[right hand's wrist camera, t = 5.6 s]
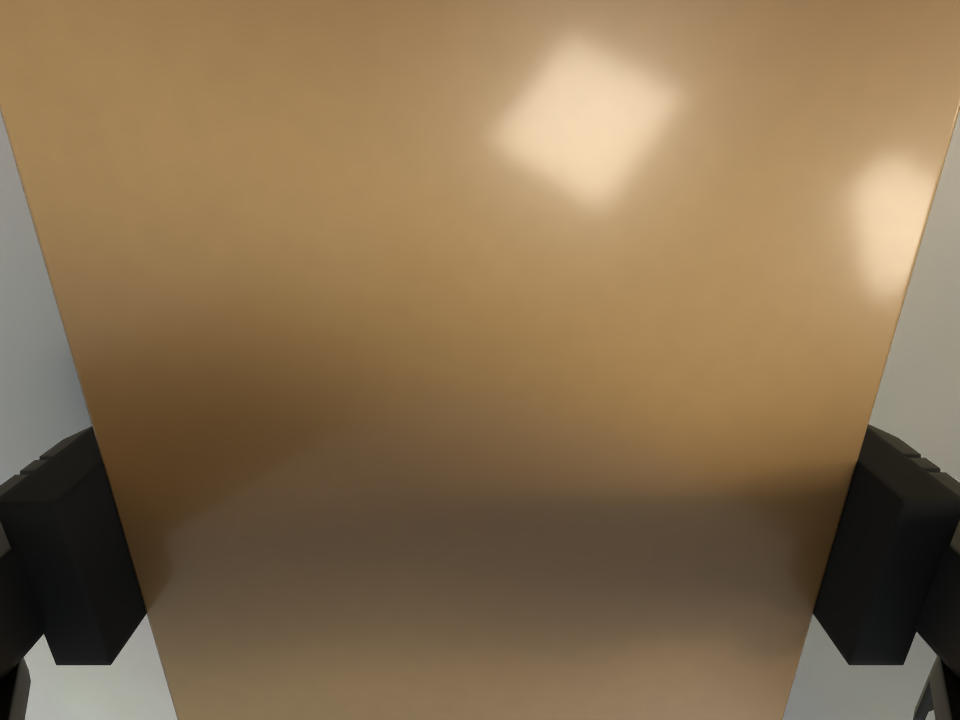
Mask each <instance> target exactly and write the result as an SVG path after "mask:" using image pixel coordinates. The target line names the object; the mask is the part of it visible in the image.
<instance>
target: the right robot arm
mask: <svg viewBox="0 0 960 720" xmlns="http://www.w3.org/2000/svg"><path fill="white" fill-rule="evenodd" d="M146 614H147V612H146V609H145V605H144V602H143V598H142V595H141V591H140V588H139V585H138V581H137V578H136V574H135V571H134V567H133V564H132V561H131V557H130V554H129V550H128V547H127V543H126V540H125V536H124V533H123V530H122V526H121V523H120V519H119V516H118V512H117V509H116V506H115V502H114V499H113V495H112V492H111V488H110V485H109V482H108V478H107V475H106V471H105V468H104V464H103V461H102V457H101V454H100V451H99V447H98V444H97V440H96V437H95V433H94V430H93V427H92V426H91V427H89V428H87V429H85V430H83V431H81V432H79V433H76V434H74V435H72V436H70V437H68V438H66V439H63V440H62V441H60V442H59V443H58V444H56V445H55V446H54V447H52V448H51V449H50V450H48V451H47V452H45V453H44V454H43V455H41V456H40V459H39V460H35V461H33V462H32V463H31V464H29V465H28V466H26V467H25V468H24V469H22V470H21V471H20V475H14V476H13V477H11V478H10V479H9V480H7V481H6V482H5V483H3V484H2V485H1V486H0V720H25V714H26V708H27V702H28V696H29V689H30V683H31V680H30V674H29V669H28V667H27V665H26V662H25V660H24V656H25V655H26V654H27V652H28V651H29V650H30V649H31V648H32V647H33V646H34V644H35V643H36V642H37V641H38V640H39V639H40V638H41V636H42V635H43V634H44V635H45V637H46V640H47V642H48V645H49V648H50V650H51V653H52V655H53V658H54V660H55V663H56V665H111V664H112V663H113V661H114V660H115V658H116V657H117V655H118V654H119V653H120V651H121V650H122V648H123V647H124V645H125V644H126V642H127V641H128V640H129V638H130V637H131V635H132V634H133V632H134V631H135V629H136V628H137V627H138V625H139V624H140V622H141V621H142V619H143V618H144V616H145V615H146ZM813 614H814V615H815V617H816V618H817V620H818V621H819V623H820V624H821V626H822V627H823V628H824V630H825V631H826V633H827V634H828V636H829V637H830V638H831V640H832V641H833V643H834V644H835V646H836V647H837V649H838V650H839V651H840V653H841V654H842V656H843V657H844V659H845V660H846V662H847V663H848V664H849V665H903V664H904V662H905V659H906V657H907V654H908V652H909V649H910V646H911V644H912V641H913V639H914V636H915V634H916V631H917V632H918V633H919V635H920V636H921V637H922V638H923V639H924V640H925V641H926V643H927V644H928V645H929V646H930V647H931V648H932V649H933V651H934V652H935V653H936V654H937V657H936V660H935V662H934V665H933V667H932V669H931V672H930V674H929V677H928V679H927V681H926V684H925V686H924V689H923V691H922V693H921V696H920V698H919V701H918V703H917V705H916V708H915V712H914V718H913V720H925V719H926V716H927V714H928V712H929V711H932V710H934V712H935V718H936V720H960V483H959V482H958V481H956V480H955V479H954V478H952V477H951V476H950V475H948V474H947V473H945V472H940V468H939V467H937V466H936V465H934V464H933V463H932V462H930V461H929V460H928V459H926V458H921V454H919V453H918V452H917V451H915V450H914V449H912V448H911V447H910V446H908V445H907V444H906V443H904V442H903V441H901V440H900V439H899V438H897V437H895V436H893V435H891V434H888V433H886V432H884V431H882V430H880V429H878V428H875V427H873V426H871V425H869V424H868V426H867V430H866V433H865V436H864V440H863V443H862V447H861V450H860V454H859V457H858V460H857V464H856V467H855V471H854V474H853V478H852V481H851V484H850V488H849V491H848V495H847V498H846V502H845V505H844V509H843V512H842V515H841V519H840V522H839V526H838V529H837V533H836V536H835V539H834V543H833V546H832V550H831V553H830V557H829V560H828V564H827V567H826V570H825V574H824V577H823V581H822V584H821V588H820V591H819V594H818V598H817V601H816V605H815V608H814V612H813Z"/></svg>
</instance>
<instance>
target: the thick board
mask: <svg viewBox="0 0 960 720" xmlns="http://www.w3.org/2000/svg"><path fill="white" fill-rule="evenodd" d="M0 110H1V114H2V117H3V121H4V124H5V128H6V131H7V135H8V138H9V141H10V145H11V148H12V152H13V155H14V159H15V162H16V165H17V169H18V172H19V176H20V179H21V183H22V186H23V189H24V193H25V196H26V200H27V203H28V207H29V210H30V214H31V217H32V220H33V224H34V227H35V231H36V234H37V238H38V241H39V244H40V248H41V251H42V255H43V258H44V262H45V265H46V269H47V272H48V275H49V279H50V282H51V286H52V289H53V293H54V296H55V299H56V303H57V306H58V310H59V313H60V317H61V320H62V323H63V327H64V330H65V334H66V337H67V341H68V344H69V348H70V351H71V354H72V358H73V361H74V365H75V368H76V372H77V375H78V378H79V382H80V385H81V389H82V392H83V396H84V399H85V402H86V406H87V409H88V413H89V416H90V420H91V423H92V427H93V430H94V433H95V437H96V440H97V444H98V447H99V451H100V454H101V457H102V461H103V464H104V468H105V471H106V475H107V478H108V482H109V485H110V488H111V492H112V495H113V499H114V502H115V506H116V509H117V512H118V516H119V519H120V523H121V526H122V530H123V533H124V536H125V540H126V543H127V547H128V550H129V554H130V557H131V561H132V564H133V567H134V571H135V574H136V578H137V581H138V585H139V588H140V591H141V595H142V598H143V602H144V605H145V609H146V612H147V615H148V619H149V622H150V626H151V629H152V633H153V636H154V640H155V643H156V646H157V650H158V653H159V657H160V660H161V664H162V667H163V670H164V674H165V677H166V681H167V684H168V688H169V691H170V694H171V698H172V701H173V705H174V708H175V712H176V715H177V719H178V720H782V718H783V715H784V711H785V708H786V704H787V701H788V698H789V694H790V691H791V687H792V684H793V680H794V677H795V673H796V670H797V667H798V663H799V660H800V656H801V653H802V649H803V646H804V643H805V639H806V636H807V632H808V629H809V625H810V622H811V618H812V615H813V612H814V608H815V605H816V601H817V598H818V594H819V591H820V588H821V584H822V581H823V577H824V574H825V570H826V567H827V564H828V560H829V557H830V553H831V550H832V546H833V543H834V539H835V536H836V533H837V529H838V526H839V522H840V519H841V515H842V512H843V509H844V505H845V502H846V498H847V495H848V491H849V488H850V484H851V481H852V478H853V474H854V471H855V467H856V464H857V460H858V457H859V454H860V450H861V447H862V443H863V440H864V436H865V433H866V430H867V426H868V423H869V419H870V416H871V412H872V409H873V405H874V402H875V399H876V395H877V392H878V388H879V385H880V381H881V378H882V375H883V371H884V368H885V364H886V361H887V357H888V354H889V351H890V347H891V344H892V340H893V337H894V333H895V330H896V326H897V323H898V320H899V316H900V313H901V309H902V306H903V302H904V299H905V296H906V292H907V289H908V285H909V282H910V278H911V275H912V271H913V268H914V265H915V261H916V258H917V254H918V251H919V247H920V244H921V241H922V237H923V234H924V230H925V227H926V223H927V220H928V217H929V213H930V210H931V206H932V203H933V199H934V196H935V192H936V189H937V186H938V182H939V179H940V175H941V172H942V168H943V165H944V162H945V158H946V155H947V151H948V148H949V144H950V141H951V137H952V134H953V131H954V127H955V124H956V120H957V117H958V113H959V110H960V0H0Z"/></svg>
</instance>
